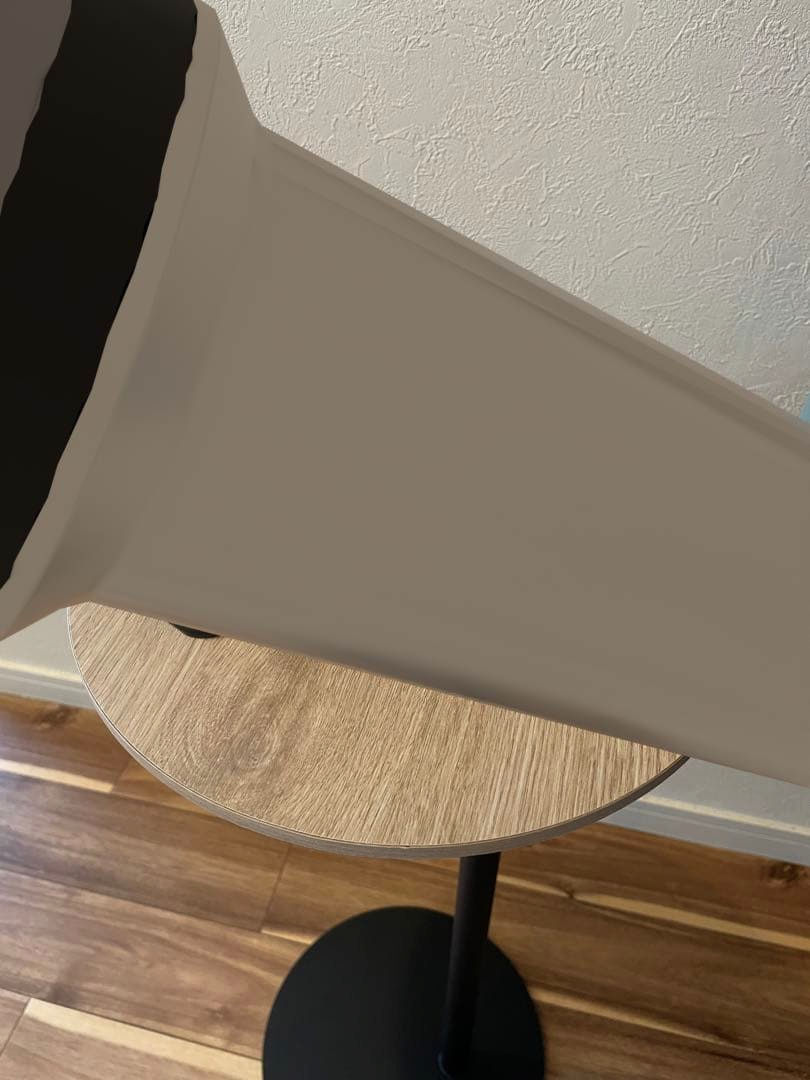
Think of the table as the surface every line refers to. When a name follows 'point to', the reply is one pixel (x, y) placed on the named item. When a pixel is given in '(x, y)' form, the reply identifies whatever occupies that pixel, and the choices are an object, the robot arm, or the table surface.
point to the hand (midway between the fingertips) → (390, 358)
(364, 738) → the table surface
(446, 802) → the table surface
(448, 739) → the table surface
